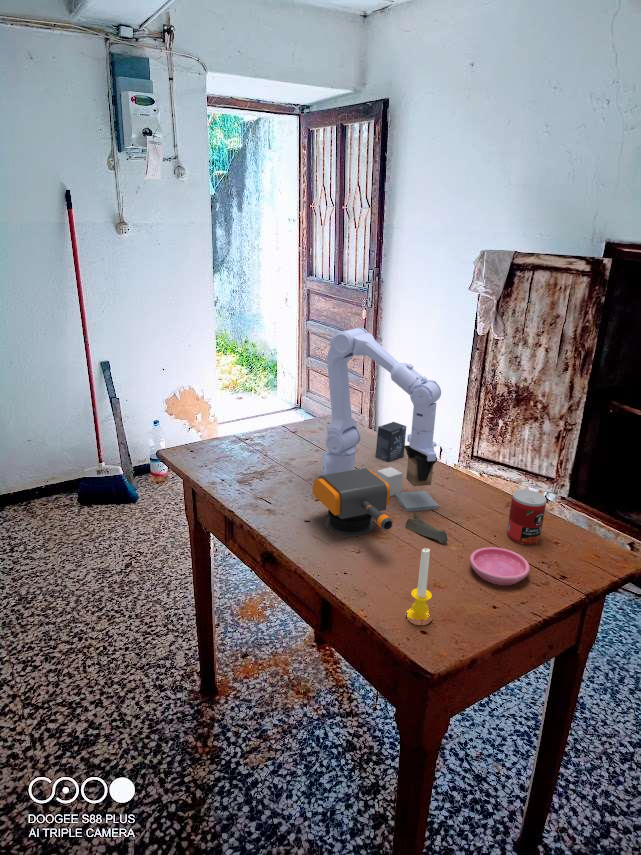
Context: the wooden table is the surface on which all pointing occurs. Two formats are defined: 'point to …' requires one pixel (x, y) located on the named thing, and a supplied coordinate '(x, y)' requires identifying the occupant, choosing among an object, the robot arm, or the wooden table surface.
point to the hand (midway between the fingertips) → (418, 475)
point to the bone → (426, 529)
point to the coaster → (416, 501)
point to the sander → (353, 501)
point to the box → (390, 441)
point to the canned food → (526, 516)
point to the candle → (421, 590)
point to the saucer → (499, 565)
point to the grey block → (391, 479)
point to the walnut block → (416, 474)
